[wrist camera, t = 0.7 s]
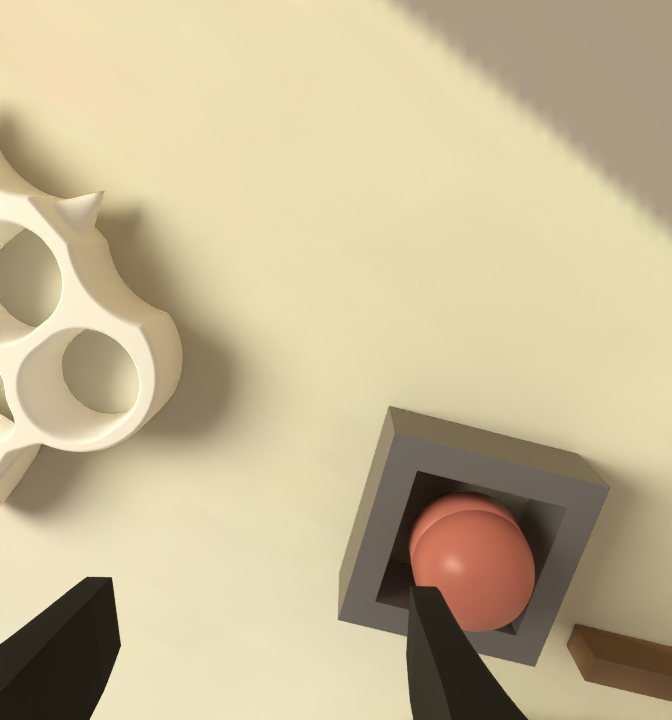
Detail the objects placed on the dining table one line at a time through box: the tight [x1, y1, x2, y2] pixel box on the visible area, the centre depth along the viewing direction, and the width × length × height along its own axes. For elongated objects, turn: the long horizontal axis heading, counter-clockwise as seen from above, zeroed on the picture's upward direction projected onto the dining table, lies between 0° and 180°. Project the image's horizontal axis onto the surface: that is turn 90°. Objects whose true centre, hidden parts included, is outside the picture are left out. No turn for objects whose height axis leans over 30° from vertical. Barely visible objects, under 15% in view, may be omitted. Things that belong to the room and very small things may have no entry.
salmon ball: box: [408, 491, 535, 632], centre depth 20 cm, size 4×4×4 cm
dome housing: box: [338, 406, 610, 667], centre depth 22 cm, size 8×8×3 cm
